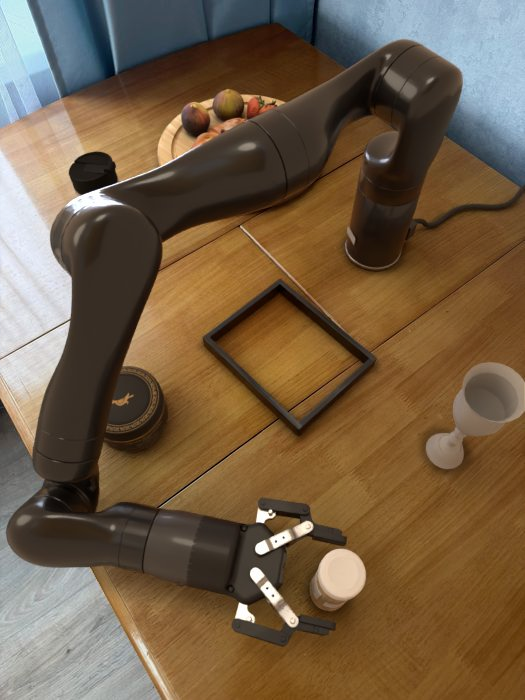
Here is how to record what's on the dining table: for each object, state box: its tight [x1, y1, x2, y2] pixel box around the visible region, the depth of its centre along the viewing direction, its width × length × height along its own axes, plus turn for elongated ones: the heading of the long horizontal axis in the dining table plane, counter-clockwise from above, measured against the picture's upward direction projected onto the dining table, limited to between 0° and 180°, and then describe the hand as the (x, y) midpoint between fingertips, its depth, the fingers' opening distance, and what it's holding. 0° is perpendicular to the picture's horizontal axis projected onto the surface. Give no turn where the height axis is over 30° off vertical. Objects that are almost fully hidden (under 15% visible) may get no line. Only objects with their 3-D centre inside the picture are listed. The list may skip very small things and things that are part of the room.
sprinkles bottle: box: [309, 548, 367, 612], centre depth 57 cm, size 5×5×13 cm
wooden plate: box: [156, 88, 314, 210], centre depth 98 cm, size 32×32×8 cm
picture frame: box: [201, 278, 378, 437], centre depth 78 cm, size 16×20×2 cm
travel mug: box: [68, 150, 120, 198], centre depth 80 cm, size 6×7×20 cm
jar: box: [103, 365, 169, 453], centre depth 70 cm, size 10×10×8 cm
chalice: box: [425, 361, 525, 470], centre depth 63 cm, size 7×7×18 cm
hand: (340, 582), depth 56 cm, fingers open, 8 cm apart
